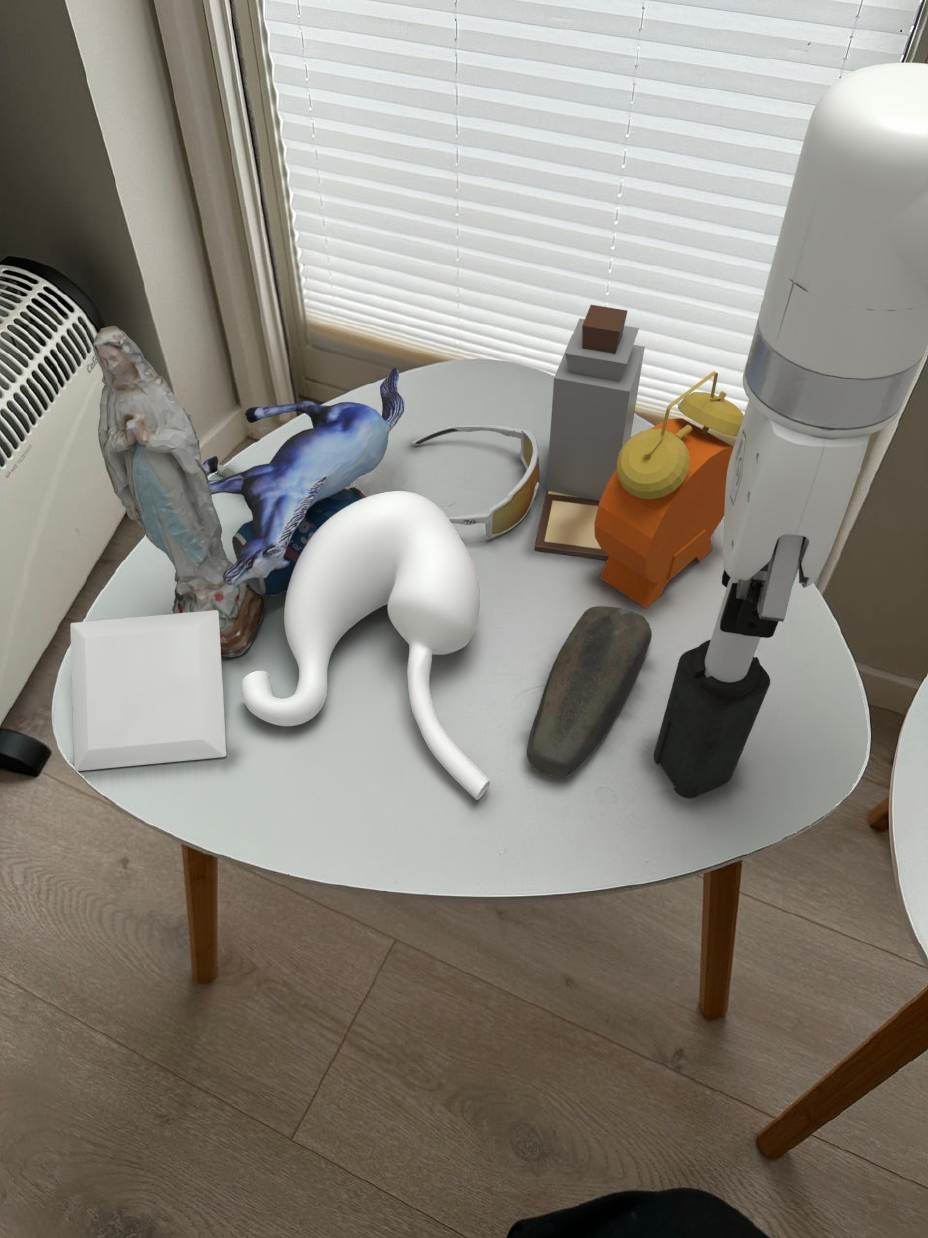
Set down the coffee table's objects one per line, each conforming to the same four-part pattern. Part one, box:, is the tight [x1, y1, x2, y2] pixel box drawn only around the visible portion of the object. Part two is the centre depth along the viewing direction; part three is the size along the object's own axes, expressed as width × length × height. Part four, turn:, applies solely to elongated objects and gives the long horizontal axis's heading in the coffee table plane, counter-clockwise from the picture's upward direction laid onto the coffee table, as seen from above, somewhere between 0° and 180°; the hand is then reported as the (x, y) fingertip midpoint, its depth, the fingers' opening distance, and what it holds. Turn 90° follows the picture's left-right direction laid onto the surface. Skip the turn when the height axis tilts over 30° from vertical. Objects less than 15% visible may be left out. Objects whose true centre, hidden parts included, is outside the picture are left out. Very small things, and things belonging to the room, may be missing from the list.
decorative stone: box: [525, 605, 653, 778], centre depth 76 cm, size 17×6×4 cm, turn 155°
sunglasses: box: [411, 424, 540, 538], centre depth 93 cm, size 14×15×5 cm
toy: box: [202, 367, 405, 585], centre depth 82 cm, size 8×28×15 cm
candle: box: [653, 571, 771, 799], centre depth 64 cm, size 5×5×25 cm
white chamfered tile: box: [69, 610, 227, 772], centre depth 77 cm, size 12×12×5 cm
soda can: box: [231, 486, 367, 596], centre depth 85 cm, size 7×7×12 cm
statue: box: [92, 325, 266, 658], centre depth 72 cm, size 8×7×30 cm
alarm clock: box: [594, 370, 744, 610], centre depth 80 cm, size 13×6×20 cm, turn 135°
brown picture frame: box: [534, 491, 609, 561], centre depth 92 cm, size 7×14×1 cm, turn 168°
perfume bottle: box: [546, 304, 646, 501], centre depth 87 cm, size 7×7×18 cm
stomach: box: [240, 490, 491, 801], centre depth 76 cm, size 23×13×24 cm
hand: (746, 606), depth 59 cm, fingers closed on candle, 3 cm apart
